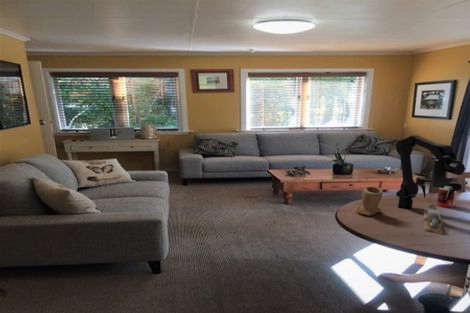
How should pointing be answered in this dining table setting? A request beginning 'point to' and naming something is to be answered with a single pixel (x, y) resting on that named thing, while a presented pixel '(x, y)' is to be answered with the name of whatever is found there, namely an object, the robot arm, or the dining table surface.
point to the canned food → (442, 198)
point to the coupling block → (433, 214)
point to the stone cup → (370, 201)
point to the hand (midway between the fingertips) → (435, 199)
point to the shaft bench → (427, 227)
